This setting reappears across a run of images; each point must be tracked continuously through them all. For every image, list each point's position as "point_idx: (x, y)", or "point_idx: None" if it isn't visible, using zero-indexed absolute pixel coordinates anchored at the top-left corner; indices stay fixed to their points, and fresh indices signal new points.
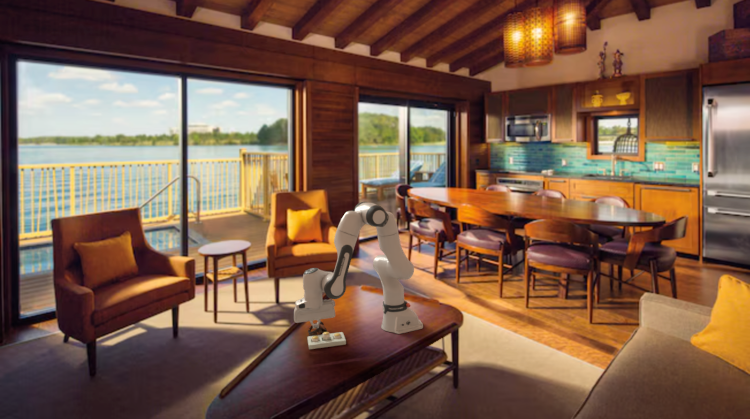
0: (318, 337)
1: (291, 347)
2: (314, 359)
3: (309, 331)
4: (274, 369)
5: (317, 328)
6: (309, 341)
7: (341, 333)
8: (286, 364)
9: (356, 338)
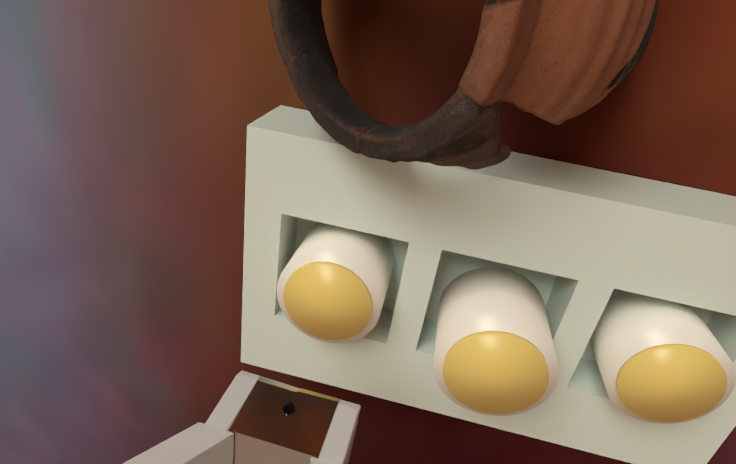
0: (374, 318)
1: (90, 147)
2: None
3: (289, 5)
4: (11, 413)
5: (412, 153)
6: (258, 284)
7: None
8: (81, 402)
9: None
